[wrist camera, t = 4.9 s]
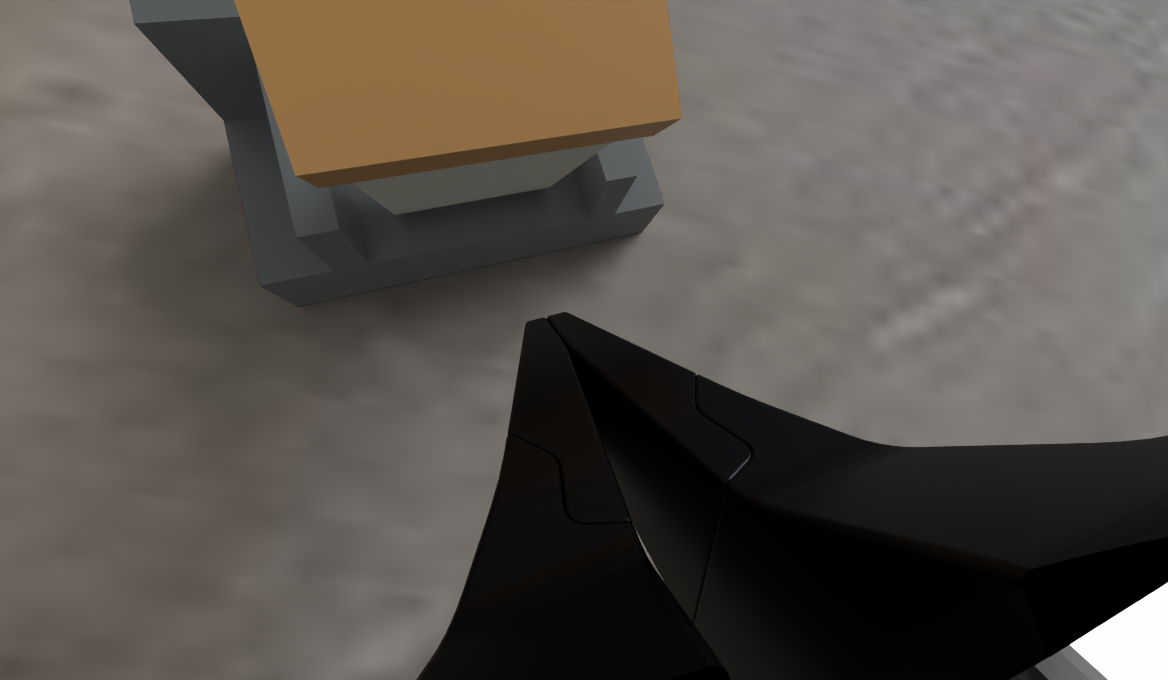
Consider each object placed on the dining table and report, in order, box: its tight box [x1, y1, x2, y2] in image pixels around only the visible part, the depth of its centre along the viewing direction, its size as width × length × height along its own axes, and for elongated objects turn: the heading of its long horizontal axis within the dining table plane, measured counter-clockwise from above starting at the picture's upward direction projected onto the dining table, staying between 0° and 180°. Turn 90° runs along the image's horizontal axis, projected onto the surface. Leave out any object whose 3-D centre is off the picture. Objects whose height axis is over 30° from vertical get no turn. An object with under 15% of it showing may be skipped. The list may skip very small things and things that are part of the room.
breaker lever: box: [234, 0, 682, 215], centre depth 11 cm, size 3×7×10 cm, turn 107°
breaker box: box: [129, 0, 664, 307], centre depth 17 cm, size 8×16×7 cm, turn 107°
